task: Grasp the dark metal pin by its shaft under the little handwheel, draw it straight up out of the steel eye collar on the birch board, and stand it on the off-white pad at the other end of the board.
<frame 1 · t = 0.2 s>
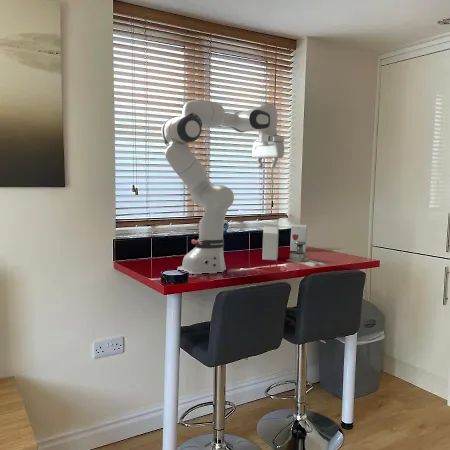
hand: (266, 167, 220), 47 cm above the table, fingers open, 8 cm apart
supplement box: (298, 250, 267), on the table
pin: (299, 260, 227), point 1 cm above the table, touching eye block
eye block: (306, 265, 223), on the table
milk carton: (269, 261, 231), on the table
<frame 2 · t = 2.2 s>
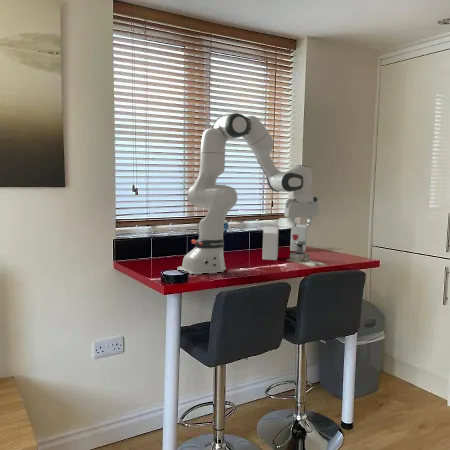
hand: (301, 226, 225), 19 cm above the table, fingers open, 8 cm apart
nothing on the table moved.
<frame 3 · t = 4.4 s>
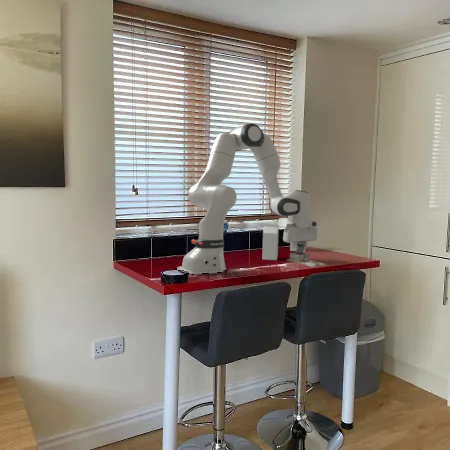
hand: (299, 250, 226), 7 cm above the table, fingers closed on pin, 3 cm apart
pin: (299, 260, 227), point 2 cm above the table, touching eye block, gripper
everything else where it was.
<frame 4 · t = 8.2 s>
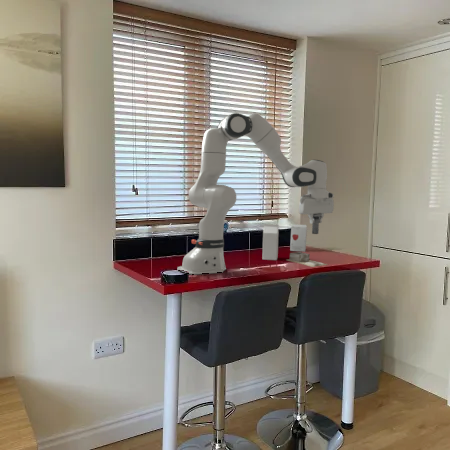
hand: (315, 223, 217), 21 cm above the table, fingers closed on pin, 3 cm apart
pin: (315, 233, 217), point 16 cm above the table, touching gripper
everything else where it was.
when the fingers open (9 cm above the table, at t = 12.0 s): pin drops 1 cm, resting on eye block.
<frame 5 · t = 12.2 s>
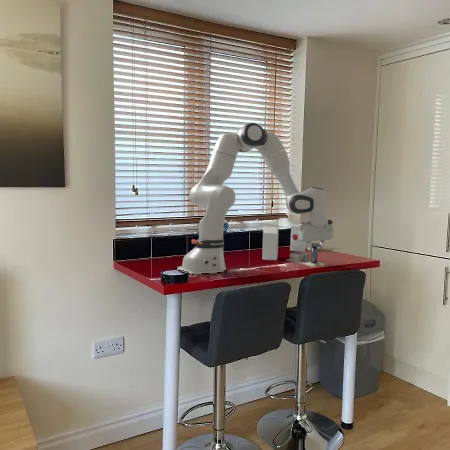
hand: (314, 249, 217), 9 cm above the table, fingers open, 5 cm apart
pin: (314, 262, 218), point 2 cm above the table, touching eye block
everything else where it was.
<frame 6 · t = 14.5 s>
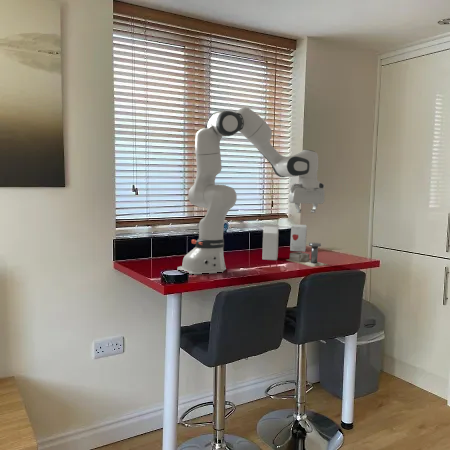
hand: (306, 212, 218), 26 cm above the table, fingers open, 8 cm apart
nothing on the table moved.
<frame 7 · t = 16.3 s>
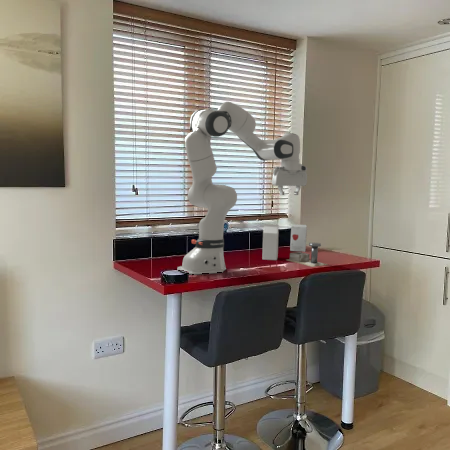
hand: (289, 195, 224), 34 cm above the table, fingers open, 8 cm apart
nothing on the table moved.
at the end: pin 0.2 cm from the target spot on the eye block, point 2.1 cm above the eye block's base; pin tilted 0°; the gripper is holding nothing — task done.
